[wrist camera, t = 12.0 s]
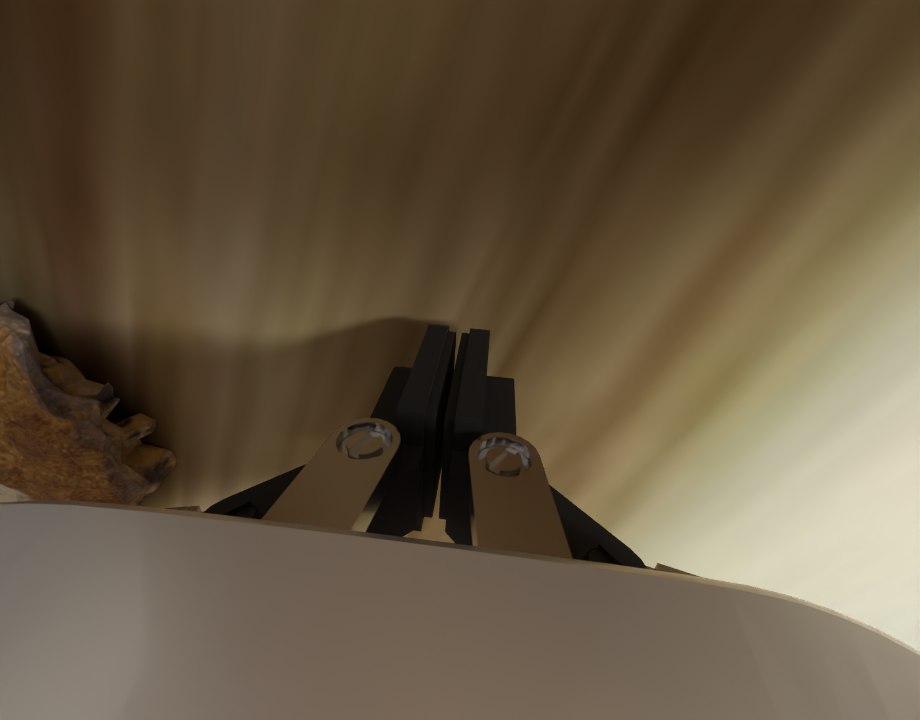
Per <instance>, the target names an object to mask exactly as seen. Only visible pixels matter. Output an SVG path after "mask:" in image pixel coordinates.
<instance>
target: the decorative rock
mask: <svg viewBox="0 0 920 720" xmlns="http://www.w3.org/2000/svg"><path fill="white" fill-rule="evenodd" d="M13 306H14V302H5V303H3V304H2V305H1V306H0V503H4V502H17V501H30V500H62V501H86V502H99V503H112V504H124V505H136V506H139V504H140V502H141V500H142V499H143V496H144V495H147V494H150V493H152V492H154V491H155V490H156V489H157V488H158V487H159V486H160V484H161V483H162V481H163V480H164V478H165V477H166V476H167V475H168V474H169V473H170V472H172V471H173V470H174V468H175V465H176V461H177V460H176V457H175V454H173V453H172V452H171V451H170V450H167V449H164V448H159V447H155V446H151V445H147V444H142V442H141V439H140V438H142V437H144V436H146V435H148V434H150V433H152V432H153V431H154V429H155V427H156V425H157V421H156V420H154V419H152V418H150V417H148V416H146V415H143V414H140V413H138V414H136V415H134V416H131V417H129V418H127V419H125V420H123V421H121V422H119V423H117V424H114V423H112V422H110V421H109V420H107V419H106V417H107V416H108V415H109V413H110V412H111V411H112V410H113V408H114V407H115V406H116V404H117V403H118V402H119V400H120V399H118V398H115V397H113V387H112V386H111V385H110V384H109V383H108V382H107V383H106V385H103V384H100V383H96V382H93V381H90V380H86V379H85V377H84V376H83V374H82V373H81V372H80V371H79V370H78V369H77V368H76V367H75V366H74V365H73V364H72V363H71V361H69V360H67V359H66V358H63V357H57V356H47V355H44V354H42V353H40V352H39V351H38V348H37V345H36V341H35V338H34V335H33V332H32V328H31V325H30V322H29V319H27V318H25V317H24V316H22V315H20V314H18V313H16V312H14V311H13Z"/></svg>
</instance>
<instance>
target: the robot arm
mask: <svg viewBox="0 0 920 720" xmlns="http://www.w3.org/2000/svg"><path fill="white" fill-rule="evenodd" d="M489 336H490V330H481V329H470V333H469V334H468V333H462V336H461V341H460V345H459V350H458V355H457V360H456V364H455V369H454V361H455V346H456V332H449V326H440V325H430V324H429V326H428V329H427V331H426V334H425V336H424V339H423V342H422V344H421V347H420V349H419V352H418V354H417V357H416V360H415V362H414V365H413V367H412V368H406V367H394V369H393V370H392V373H391V375H390V377H389V379H388V381H387V383H386V385H385V388H384V390H383V392H382V394H381V396H380V398H379V400H378V403H377V405H376V407H375V409H374V411H373V413H372V415H371V418H362V419H356V420H352V421H349V422H347V423H345V424H343V425H341V426H339V427H338V428H337V429H336V430H335V431H334V432H333V433H332V434H331V435H330V436H329V437H328V439H327V440H326V441H325V442H324V443H323V445H322V446H321V447H320V448H319V450H318V451H317V452H316V453H315V454H314V456H313V457H312V458H311V459H310V461H309V462H308V463H307V464H305V465H303V466H300V467H298V468H296V469H293V470H291V471H289V472H286V473H284V474H282V475H279V476H277V477H275V478H272V479H270V480H267V481H265V482H263V483H260V484H258V485H256V486H253V487H251V488H249V489H246V490H244V491H242V492H239V493H237V494H235V495H232V496H230V497H228V498H225V499H223V500H221V501H219V502H218V503H216V504H214V505H212V506H211V507H209V508H208V509H207V510H206V511H204V512H201V509H200V507H199V506H190V507H176V508H155V507H146V506H136V505H124V504H112V503H99V502H86V501H62V500H30V501H17V502H4V503H0V720H920V652H919V651H917V650H915V649H913V648H912V647H910V646H908V645H906V644H905V643H903V642H901V641H899V640H897V639H895V638H893V637H891V636H889V635H888V634H886V633H884V632H882V631H880V630H878V629H875V628H873V627H871V626H868V625H866V624H864V623H862V622H859V621H857V620H855V619H852V618H850V617H848V616H845V615H843V614H841V613H838V612H836V611H834V610H831V609H828V608H825V607H822V606H819V605H816V604H813V603H810V602H807V601H804V600H801V599H798V598H795V597H792V596H788V595H784V594H780V593H776V592H772V591H768V590H764V589H760V588H756V587H752V586H748V585H742V584H736V583H730V582H724V581H718V580H713V579H708V578H702V577H699V576H696V575H693V574H690V573H687V572H684V571H681V570H678V569H674V568H671V567H668V566H665V565H662V564H659V563H657V565H656V567H655V569H654V568H651V567H648V566H645V565H644V563H643V562H642V560H641V559H640V558H639V557H638V556H637V555H636V554H635V553H634V552H633V551H632V550H631V549H630V548H629V547H627V546H626V545H625V544H624V543H622V542H621V541H620V540H619V539H617V538H616V537H615V536H613V535H612V534H611V533H610V532H608V531H607V530H606V529H605V528H603V527H602V526H601V525H600V524H598V523H597V522H596V521H595V520H593V519H592V518H591V517H589V516H588V515H587V514H586V513H584V512H583V511H582V510H581V509H579V508H578V507H577V506H576V505H574V504H573V503H572V502H570V501H569V500H568V499H567V498H565V497H564V496H563V495H562V494H560V493H559V492H558V491H557V490H555V489H554V488H553V487H552V486H550V485H549V483H548V480H547V477H546V474H545V470H544V467H543V464H542V461H541V458H540V455H539V453H538V452H537V450H536V448H535V447H534V446H533V445H532V444H531V443H530V442H528V441H527V440H525V439H523V438H521V437H519V436H516V415H515V390H514V379H512V378H502V377H492V376H487V363H488V349H489ZM441 468H442V473H441ZM440 473H441V491H440V509H439V519H446V528H445V532H446V533H447V535H449V536H450V538H451V539H452V540H453V541H454V542H455V543H456V544H454V543H446V542H438V541H431V540H423V539H415V538H407V537H403V536H405V535H406V534H408V533H409V532H411V531H413V530H415V531H421V528H422V524H423V519H424V517H430V518H432V516H433V511H434V506H435V500H436V495H437V489H438V484H439V479H440Z"/></svg>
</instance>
